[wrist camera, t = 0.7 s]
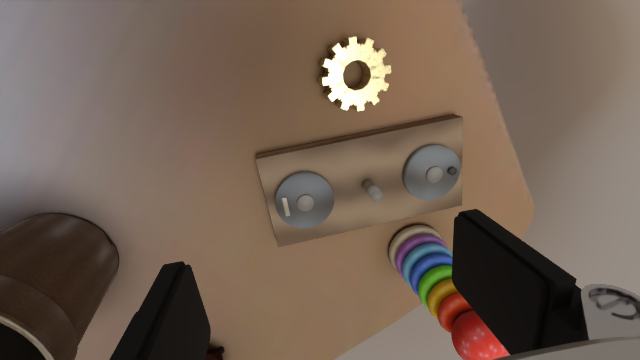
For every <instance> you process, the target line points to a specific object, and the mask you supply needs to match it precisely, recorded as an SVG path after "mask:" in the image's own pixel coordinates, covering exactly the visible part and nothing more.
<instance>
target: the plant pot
mask: <svg viewBox="0 0 640 360" xmlns="http://www.w3.org/2000/svg"><path fill="white" fill-rule="evenodd" d="M118 265H119V259H118V253H117V250H116V248H115V246H113V245H112V244H110V242H109V241H108V240H107V238H106V236H105V233H104V232H103V231H102V230H100V229H99V228H98V227H96V226H94V225H93V224H91V223H89V222H87V221H85V220H82V219H80V218H76V217H73V216H68V215H63V214H41V215H37V216H34V217H31V218H28V219H25V220H23V221H20V222H19V223H17V224H15V225H13V226H11V227H10V228H8V229H6V230H4V231H2V232H0V360H74V359H75V357H76V354H77V349H78V345H79V343H80V341H81V339H82V337H83V335H84V333H85V331H86V329H87V327H88V325H89V324H90V322H91V320H92V318H93V316H94V314H95V312H96V310H97V309H98V307H99V305H100V303H101V301H102V299H103V297H104V296H105V294H106V292H107V290H108V288H109V286H110V284H111V283H112V281H113V280H114V278H115V276H116V273H117V270H118Z"/></svg>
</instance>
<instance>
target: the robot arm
mask: <svg viewBox="0 0 640 360" xmlns="http://www.w3.org/2000/svg"><path fill="white" fill-rule="evenodd" d="M452 282H453V285H454V287H455V288H456V289H457V290H458V292H459V293H460V294H461V295H462V297H463V298H464V299H465V300H466V301H467V303H468V304H469V305H470V306H471V307H472V309H473V310H474V311H475V312H476V314H477V315H478V316H479V317H480V318H481V320H482V321H483V322H484V323H485V325H486V326H487V327H488V328H489V329H490V331H491V332H492V333H493V334H494V335H495V337H496V338H497V339H498V340H499V342H500V343H501V344H502V345H503V346H504V348H505V349H506V350H507V351H508V353H509V354H510V355H509V356H505V357H500V358H496V359H491V360H640V297H639V296H638V295H636V294H634V293H632V292H630V291H627V290H625V289H622V288H619V287H615V286H612V285H605V284H591V285H588V286H585V287H584V288H583V289H580V288H579V287H577V286H576V285H575V283H576V278H574V277H573V276H571V275H570V274H569V273H567V272H566V271H564V270H563V269H562V268H560V267H559V266H557V265H556V264H554V263H553V262H552V261H550V260H549V259H547V258H546V257H544V256H543V255H542V254H540V253H539V252H537V251H536V250H534V249H533V248H532V247H530V246H529V245H527V244H526V243H525V242H523V241H522V240H520V239H519V238H518V237H516V236H515V235H513V234H512V233H510V232H509V231H508V230H506V229H505V228H503V227H502V226H500V225H499V224H498V223H496V222H495V221H493V220H492V219H491V218H489V217H488V216H486V215H485V214H483V213H482V212H481V211H479V210H477V209H473V210H468V211H462V212H460V213H459V214H458V216H457V217H455V219H454V235H453V256H452ZM210 333H211V331H210V324H209V321H208V318H207V315H206V312H205V309H204V306H203V302H202V299H201V296H200V293H199V290H198V287H197V284H196V281H195V277H194V274H193V271H192V268H191V266H190V265H185V263H184V262H182V261H181V262H175V263H170V264H165V265H163V267H162V268H161V270H160V272H159V274H158V276H157V277H156V279H155V281H154V283H153V285H152V287H151V289H150V290H149V292H148V294H147V296H146V298H145V300H144V301H143V303H142V305H141V307H140V309H139V311H138V312H136V314H135V315H134V316H133V318H132V320H131V322H130V324H129V325H128V327H127V329H126V331H125V333H124V334H123V336H122V338H121V340H120V342H119V344H118V345H117V347H116V349H115V351H114V353H113V354H112V356H111V358H110V360H205V358H206V353H207V349H208V344H209V340H210Z"/></svg>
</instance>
